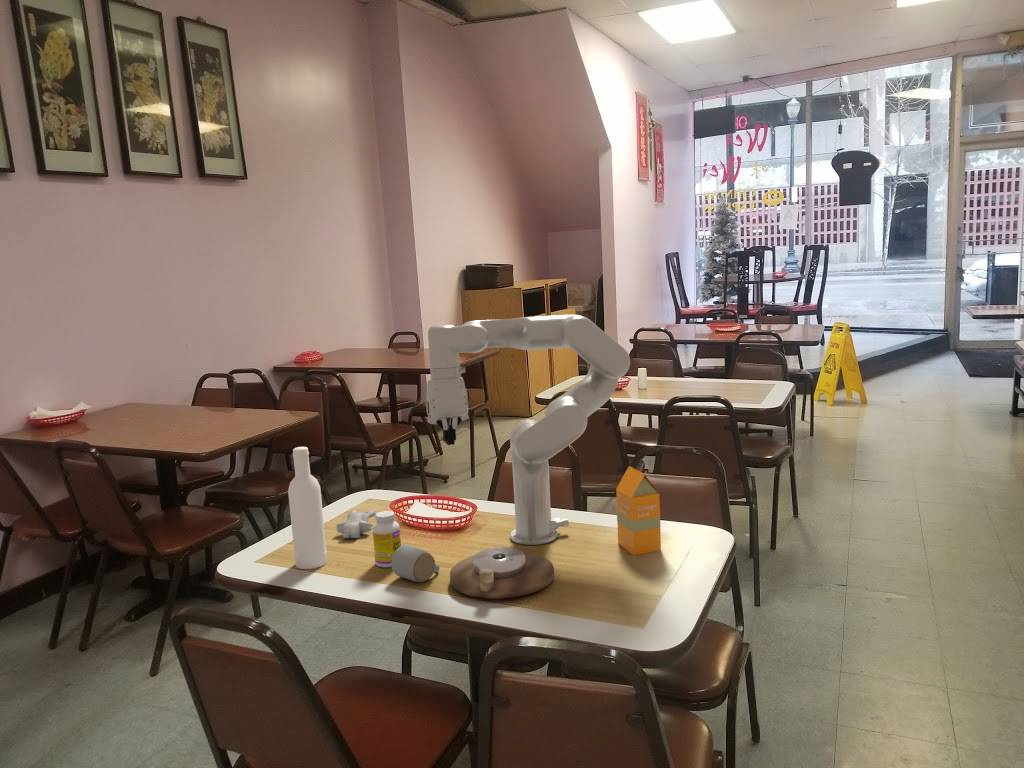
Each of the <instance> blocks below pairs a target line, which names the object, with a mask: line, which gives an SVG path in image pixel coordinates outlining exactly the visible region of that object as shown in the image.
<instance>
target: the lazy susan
mask: <svg viewBox="0 0 1024 768" xmlns="http://www.w3.org/2000/svg"><path fill="white" fill-rule="evenodd" d="M523 552H524V554H525V564H526V569H525V571H524V572H523V573H522V574H520V575H518V576H515V577H512V578H508V579H498V580H497V579H494V577H493V570H492V569H482V570H480V571H479V575H480V577H479V576H477V575H476V574H475V573H474V563H473V557H474V556H475V555H473V556H470V557H467V558H464V559H462V560H460V561H459V562H457V563H456V564H455V565H453V566H452V568H451V569H450V570H449V571H450V572H449V579H450V580H449V581H450V584H451V586H452V588H454V590H456V591H458V592H459V593H460V594H464V595H466V596H470V597H474V598H479V599H480V598H481V599H493V600H495V599H496V600H497V599H498V600H499V599H500V600H501V599H511V598H518V597H522V596H526V595H530V594H533V593H536V592H538V591H541V590H543V589H544V588H546V587H547V586H549V585H550V584H551V583H552V582H553V580H554V578H555V577H554V576H555V567H554V565H553V563H552V562H551V561H550V560H549V559H548V558H546V557H545V556H542V555H540V554H537V553H533V552H530V551H529V552H528V551H523Z"/></svg>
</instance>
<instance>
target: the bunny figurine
mask: <svg viewBox="0 0 1024 768" xmlns="http://www.w3.org/2000/svg"><path fill="white" fill-rule="evenodd" d="M376 514H377V512H375V510H374V509H370V510H367V511H366V512H362V511H361V512H360V511H358V510H350V512H349V513H347V516H346V517H347V519H346V520H344V521H342V522H341V521H340V522H339V523H337V524H336V529H337V530H336V532H337V533H340V534H342V539H360V538H361V534H364V533H368V532H371V531H372V525H371V522H369V519H370V518H373V517H376Z"/></svg>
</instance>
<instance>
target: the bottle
mask: <svg viewBox="0 0 1024 768" xmlns="http://www.w3.org/2000/svg"><path fill="white" fill-rule="evenodd" d="M309 455H310V452H309V447H307V446H297V447H295V448H293V449H292V458H293V465H294V466H293V467H294V474H295V475H294V477H293V478H292V479H291V481H290V482H289V486H288V489H287V490H288V491H287V492H288V504H289V515H290V523H291V532H292V533H291V534H292V542H293V543H292V544H293V552H294V554H293V557H294V562H295V563H294V564H295V565H294V566H295V567H296V568H297V569H300V570H314V569H318V568H320V567H323V566H324V565H326V564H327V562H328V551H327V550H328V549H327V544H326V534H325V524H324V523H325V522H324V521H325V520H324V513H323V502H322V492H321V491H322V490H321V485H320V483H319V481H318V479H317V478H316V477H314V476H313V475H312V474H311V469H310V468H311V465H310V457H309Z"/></svg>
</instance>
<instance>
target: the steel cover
mask: <svg viewBox="0 0 1024 768" xmlns="http://www.w3.org/2000/svg"><path fill="white" fill-rule="evenodd" d="M524 552H525V551H523V550H521V549H518V548H516V547H515V548H514V547H506V546H505V547H504V546H500V547H491V548H486V549H483V550H481V551H479V552H477V553H475V554H474V555H473V556H474V557H473V563H474V573H475V574H476V575H477V576H479V577H480V575H479V571H480V570H482V569H492V570H493V577H494V579H497V580H498V579H508V578H512V577H515V576H518V575H520V574H522V573H523V572H524V571H525V569H526V564H525V554H524Z"/></svg>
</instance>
